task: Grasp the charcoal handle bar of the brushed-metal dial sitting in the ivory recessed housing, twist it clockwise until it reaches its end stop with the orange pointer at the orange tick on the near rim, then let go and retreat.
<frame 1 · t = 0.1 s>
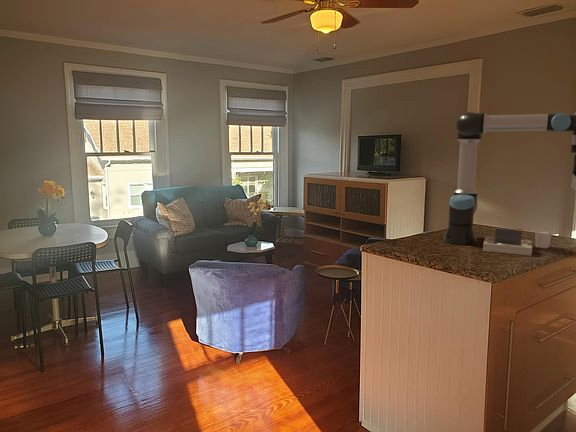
dial: (508, 236, 211), point 6 cm above the counter, hinge at 0.0°
shot glass: (542, 247, 218), on the counter
housing: (507, 249, 212), on the counter
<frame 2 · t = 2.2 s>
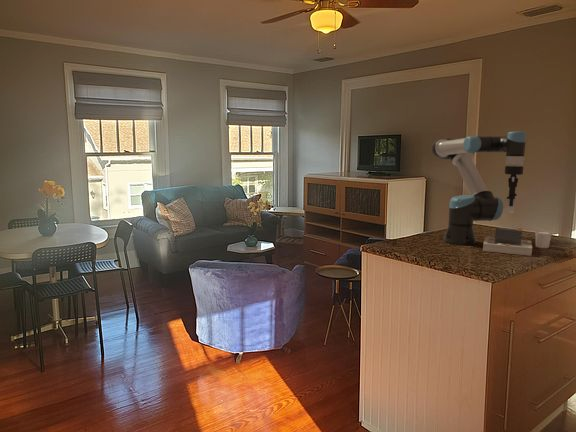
hand: (510, 211, 209), 18 cm above the counter, fingers open, 13 cm apart
nothing on the counter moved.
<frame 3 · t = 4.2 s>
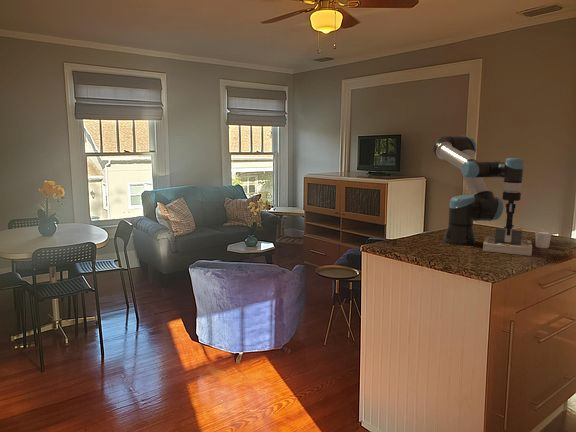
hand: (507, 241, 211), 4 cm above the counter, fingers closed on dial, 3 cm apart
dial: (508, 236, 211), point 6 cm above the counter, hinge at 0.0°, touching gripper
everything else where it was.
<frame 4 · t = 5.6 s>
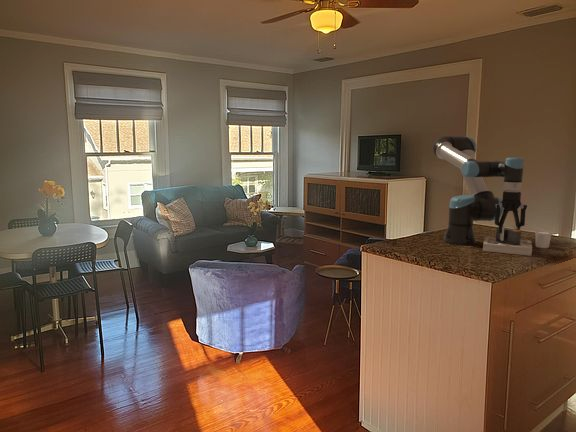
hand: (508, 240, 211), 4 cm above the counter, fingers closed on dial, 5 cm apart
dial: (508, 236, 211), point 6 cm above the counter, hinge at -40.0°, touching gripper
everything else where it was.
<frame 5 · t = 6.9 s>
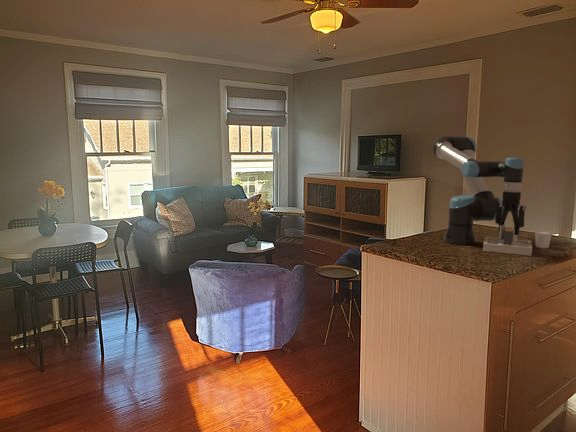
hand: (507, 240, 211), 4 cm above the counter, fingers closed on dial, 6 cm apart
dial: (508, 236, 211), point 6 cm above the counter, hinge at -88.5°, touching gripper
everything else where it was.
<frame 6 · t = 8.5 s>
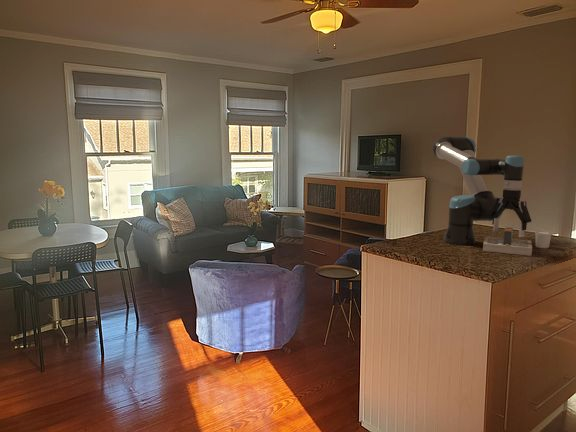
hand: (508, 234, 211), 7 cm above the counter, fingers open, 13 cm apart
dial: (508, 236, 211), point 6 cm above the counter, hinge at -91.4°
everything else where it was.
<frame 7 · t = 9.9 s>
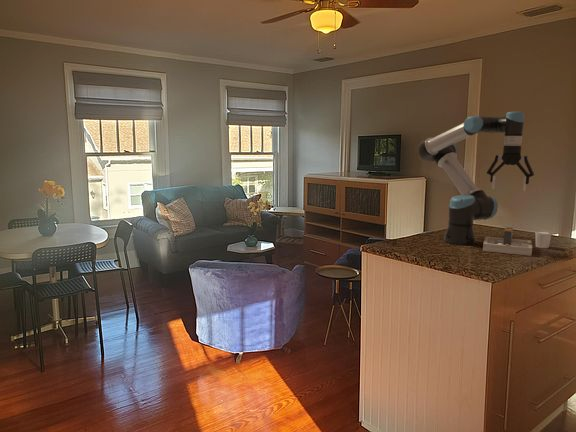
hand: (508, 190, 216), 27 cm above the counter, fingers open, 13 cm apart
nothing on the counter moved.
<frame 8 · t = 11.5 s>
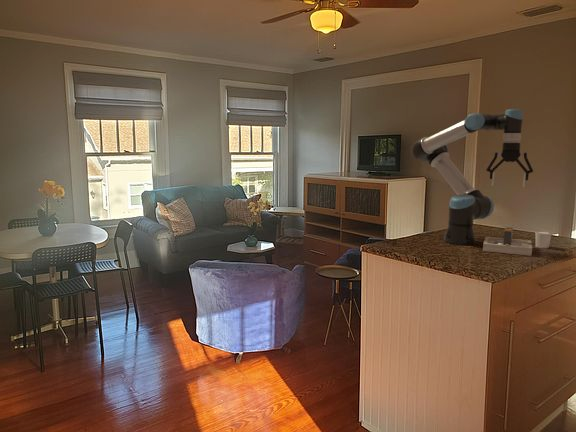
hand: (507, 186, 218), 29 cm above the counter, fingers open, 13 cm apart
nothing on the counter moved.
at the end: dial at -91° (first picture: +0°); the gripper is holding nothing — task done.
